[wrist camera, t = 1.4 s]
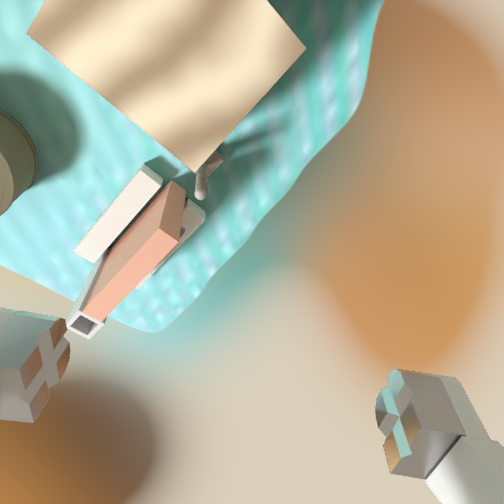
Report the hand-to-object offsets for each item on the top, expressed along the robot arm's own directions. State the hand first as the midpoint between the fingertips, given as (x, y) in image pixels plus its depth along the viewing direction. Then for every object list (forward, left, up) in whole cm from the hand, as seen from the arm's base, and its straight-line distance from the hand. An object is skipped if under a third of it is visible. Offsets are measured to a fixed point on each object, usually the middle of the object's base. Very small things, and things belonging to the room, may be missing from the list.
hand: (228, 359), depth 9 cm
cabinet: (-5, 0, -39) cm, 39 cm away
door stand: (+4, -20, -39) cm, 43 cm away
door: (+4, -20, -39) cm, 44 cm away
